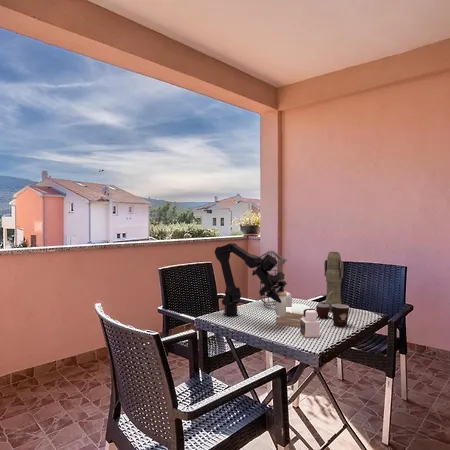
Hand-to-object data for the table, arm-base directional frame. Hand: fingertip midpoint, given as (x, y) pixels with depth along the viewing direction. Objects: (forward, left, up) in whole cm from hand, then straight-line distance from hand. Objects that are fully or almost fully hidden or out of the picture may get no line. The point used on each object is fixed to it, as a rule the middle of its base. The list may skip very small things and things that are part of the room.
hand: (283, 301), depth 178 cm
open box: (+10, +7, -13) cm, 18 cm away
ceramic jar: (-1, +1, -7) cm, 7 cm away
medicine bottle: (+6, -13, -14) cm, 20 cm away
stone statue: (+47, +17, -14) cm, 52 cm away
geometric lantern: (+18, +40, -14) cm, 46 cm away
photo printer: (+18, +26, -14) cm, 34 cm away
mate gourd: (+32, +8, -14) cm, 36 cm away
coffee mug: (+29, -6, -14) cm, 33 cm away
